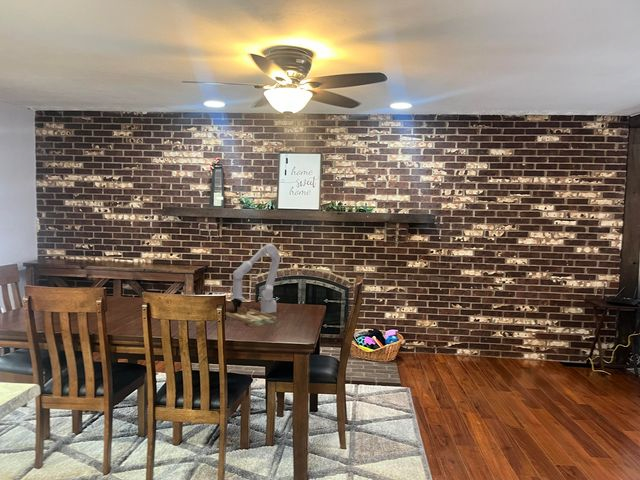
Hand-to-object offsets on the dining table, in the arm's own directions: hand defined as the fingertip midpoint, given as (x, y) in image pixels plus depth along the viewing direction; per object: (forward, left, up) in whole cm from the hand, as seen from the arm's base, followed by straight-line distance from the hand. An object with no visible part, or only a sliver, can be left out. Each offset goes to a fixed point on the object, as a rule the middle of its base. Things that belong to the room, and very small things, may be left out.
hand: (236, 311), depth 272 cm
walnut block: (0, +6, -1) cm, 6 cm away
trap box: (0, +15, -2) cm, 16 cm away
